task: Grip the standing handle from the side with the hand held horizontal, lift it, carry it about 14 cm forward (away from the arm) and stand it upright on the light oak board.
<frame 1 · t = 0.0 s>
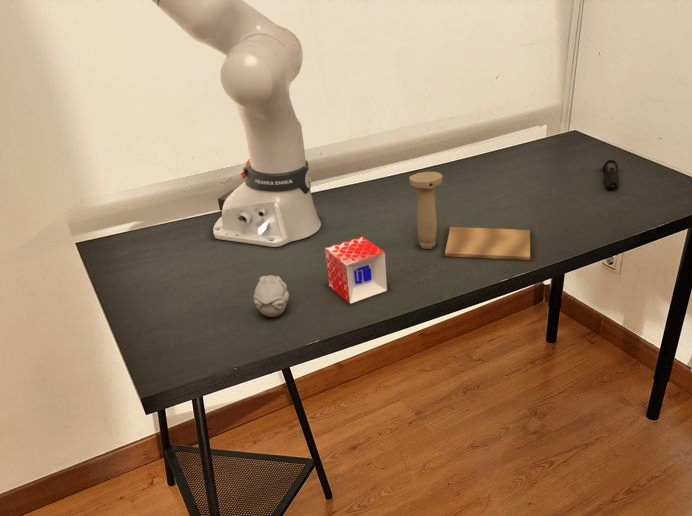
handle: (427, 247, 148), on the table
electric trimmer: (611, 181, 177), on the table
frog figurine: (274, 314, 127), on the table
oak board: (488, 244, 149), on the table
red and white cube: (357, 289, 134), on the table
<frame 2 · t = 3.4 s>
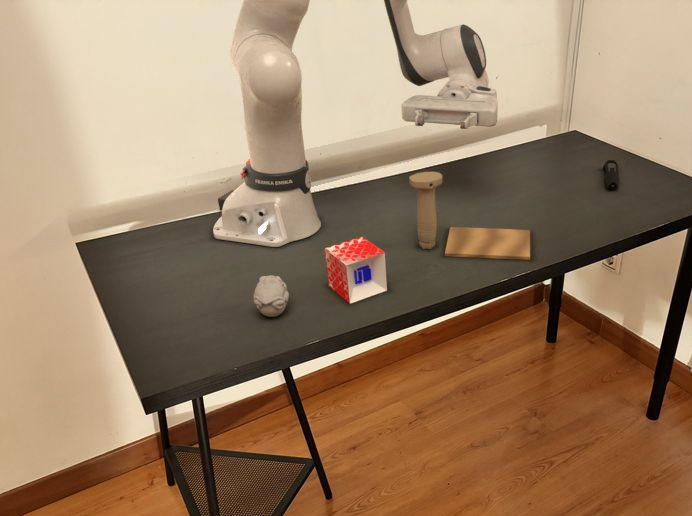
hand: (440, 123, 145), 22 cm above the table, tool horizontal, fingers open, 8 cm apart
nothing on the table moved.
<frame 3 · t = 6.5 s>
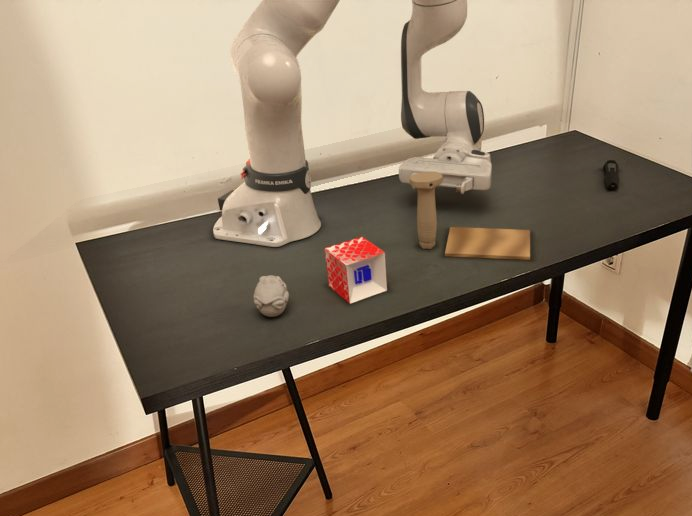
hand: (437, 187, 150), 9 cm above the table, tool horizontal, fingers open, 8 cm apart
nothing on the table moved.
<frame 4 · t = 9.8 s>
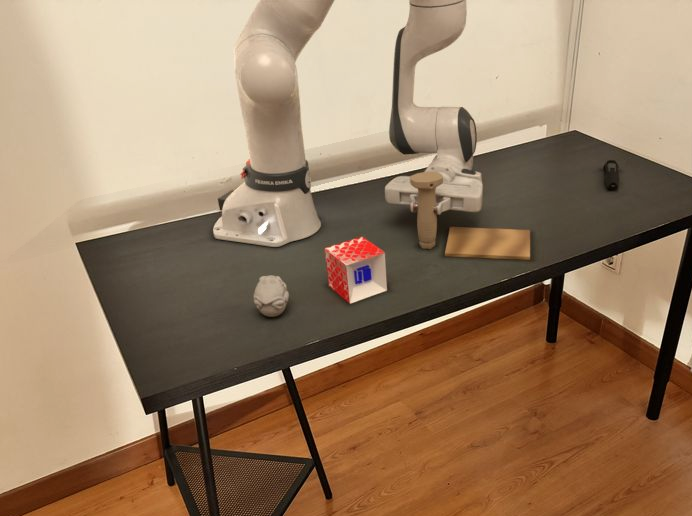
hand: (425, 209, 142), 9 cm above the table, tool horizontal, fingers closed on handle, 3 cm apart
handle: (427, 247, 148), on the table, touching gripper
everything else where it was.
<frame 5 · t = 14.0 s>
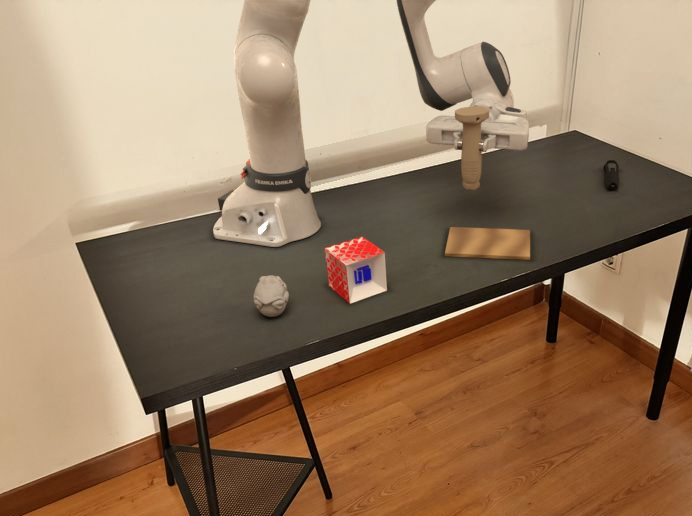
hand: (470, 147, 135), 21 cm above the table, tool horizontal, fingers closed on handle, 3 cm apart
handle: (471, 188, 141), point 12 cm above the table, touching gripper
everything else where it was.
when the fingers open (9 cm above the table, at t = 18.3 s): handle stays where it is, resting on oak board.
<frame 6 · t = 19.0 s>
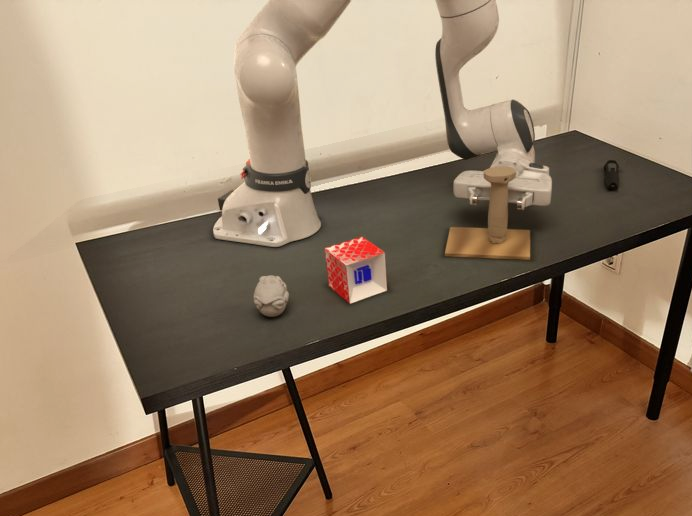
hand: (496, 203, 142), 9 cm above the table, tool horizontal, fingers open, 8 cm apart
handle: (496, 242, 148), point 1 cm above the table, touching oak board
everything else where it was.
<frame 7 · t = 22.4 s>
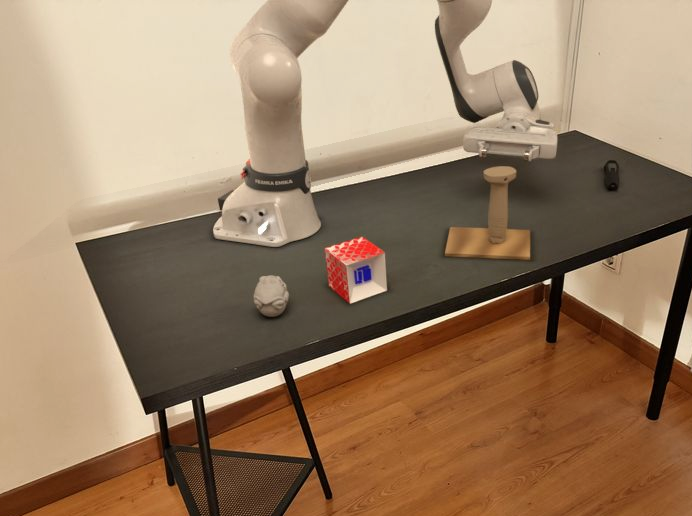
hand: (505, 155, 149), 15 cm above the table, tool horizontal, fingers open, 8 cm apart
nothing on the table moved.
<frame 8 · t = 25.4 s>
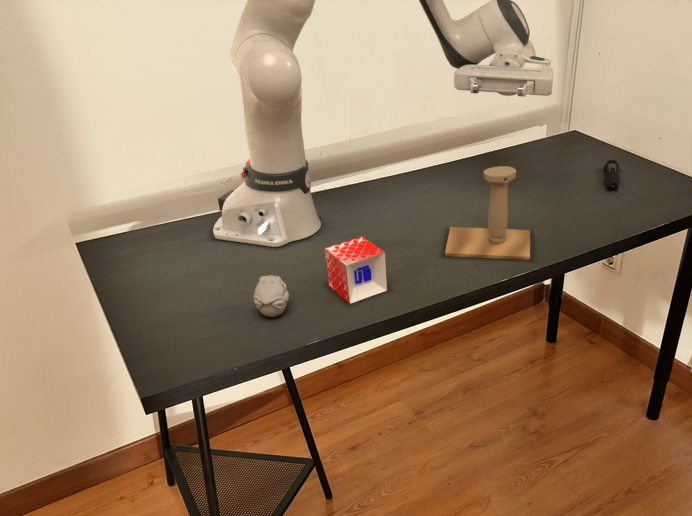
hand: (497, 90, 141), 28 cm above the table, tool horizontal, fingers open, 8 cm apart
nothing on the table moved.
at the end: handle inside the target area (0.3 cm from its centre), point 0.6 cm above the table; handle tilted 0°; handle touching oak board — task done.
